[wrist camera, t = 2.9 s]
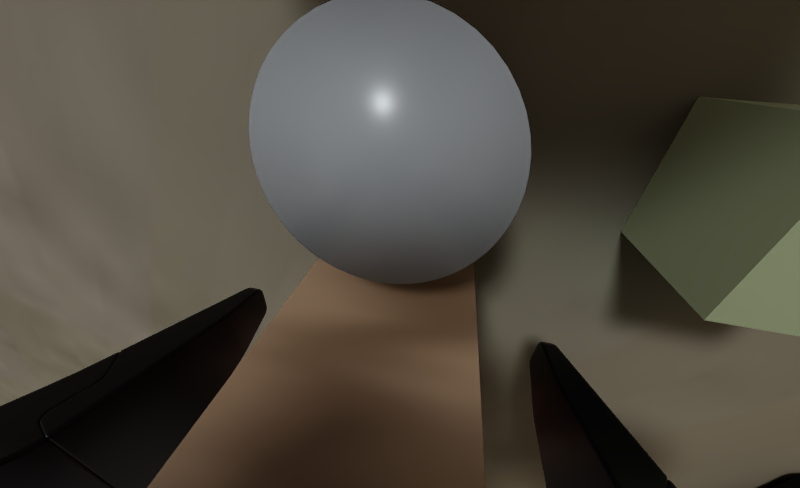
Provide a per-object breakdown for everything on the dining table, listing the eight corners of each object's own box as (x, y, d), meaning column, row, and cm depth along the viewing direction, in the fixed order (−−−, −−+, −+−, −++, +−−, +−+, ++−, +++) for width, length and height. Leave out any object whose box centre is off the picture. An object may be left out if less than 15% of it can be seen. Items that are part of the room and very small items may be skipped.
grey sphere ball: (522, 33, 6) (587, -2, 3) (479, 211, 9) (489, 301, 5) (334, 23, 7) (212, -16, 4) (343, 192, 9) (276, 264, 6)
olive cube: (881, 111, 6) (1283, 156, 3) (755, 249, 8) (927, 358, 5) (696, 96, 6) (892, 122, 3) (619, 230, 8) (703, 319, 5)
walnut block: (472, 241, 9) (496, 685, 3) (451, 330, 12) (435, 679, 5) (344, 222, 10) (99, 550, 3) (350, 311, 12) (215, 602, 6)
